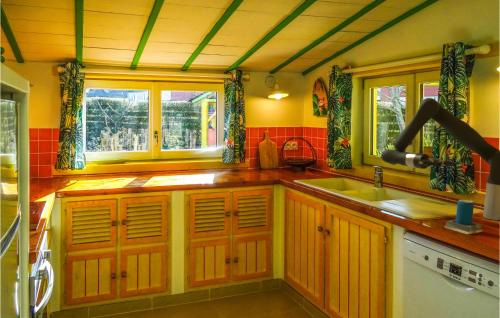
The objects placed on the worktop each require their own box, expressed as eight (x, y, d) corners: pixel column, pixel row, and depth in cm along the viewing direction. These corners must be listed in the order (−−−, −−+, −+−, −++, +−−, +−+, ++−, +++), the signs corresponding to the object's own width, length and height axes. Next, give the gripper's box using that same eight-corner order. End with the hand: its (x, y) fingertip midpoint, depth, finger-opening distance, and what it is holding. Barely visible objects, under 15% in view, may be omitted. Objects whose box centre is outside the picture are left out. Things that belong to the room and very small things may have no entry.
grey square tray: (459, 225, 198) (459, 218, 198) (482, 231, 189) (483, 224, 189) (444, 227, 193) (444, 221, 192) (467, 234, 183) (468, 227, 183)
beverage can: (459, 225, 195) (462, 198, 194) (474, 228, 190) (477, 201, 189) (452, 226, 192) (454, 200, 190) (466, 230, 186) (469, 203, 185)
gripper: (408, 153, 213) (438, 156, 199) (427, 152, 220) (456, 155, 207) (407, 168, 214) (436, 173, 200) (425, 167, 221) (455, 171, 207)
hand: (446, 164), depth 203 cm, fingers open, 8 cm apart
